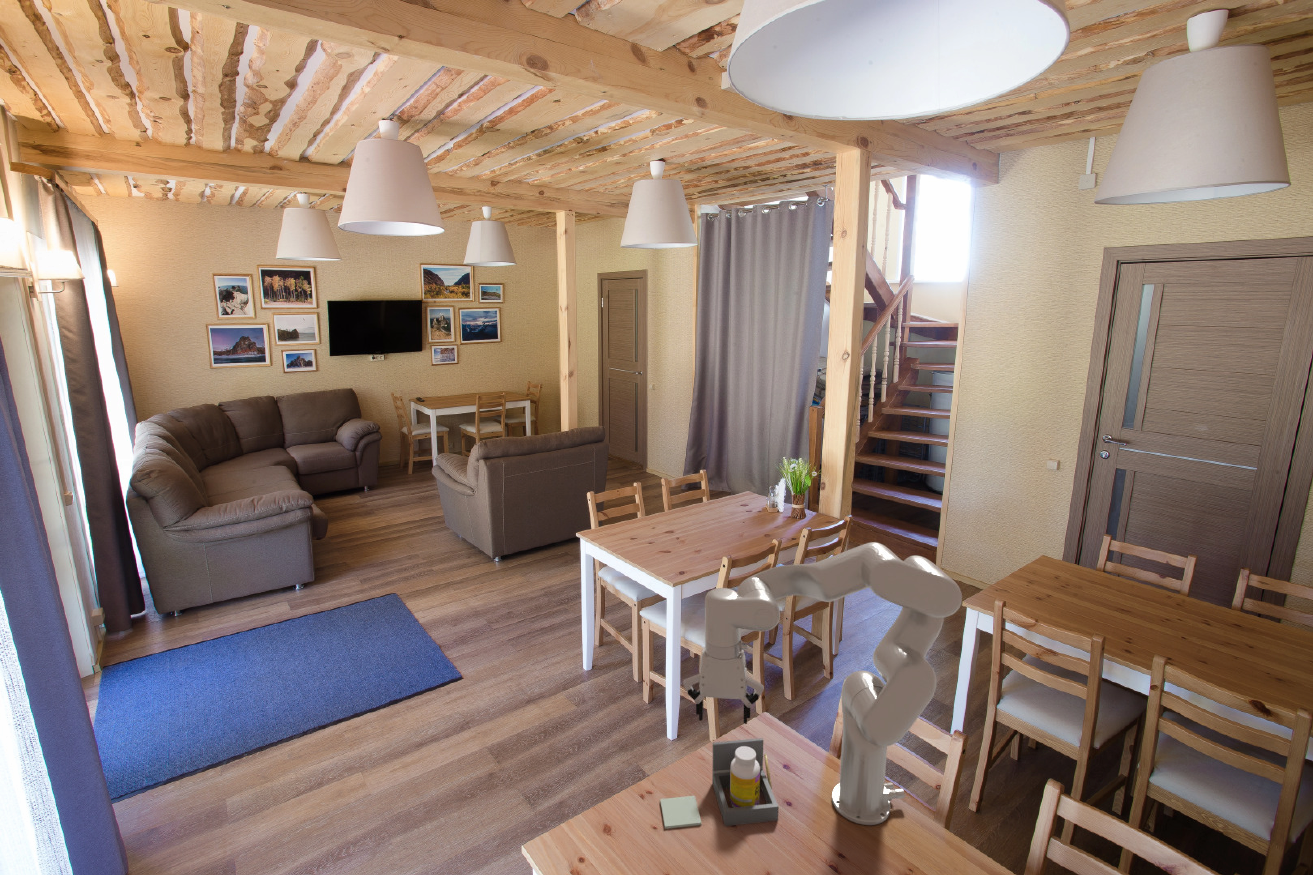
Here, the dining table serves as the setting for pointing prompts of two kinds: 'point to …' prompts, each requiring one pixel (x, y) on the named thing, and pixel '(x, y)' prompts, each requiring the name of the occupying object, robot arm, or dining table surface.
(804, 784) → the dining table surface
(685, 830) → the dining table surface
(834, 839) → the dining table surface
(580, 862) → the dining table surface
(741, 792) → the supplement bottle
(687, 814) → the rest pad
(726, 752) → the case
